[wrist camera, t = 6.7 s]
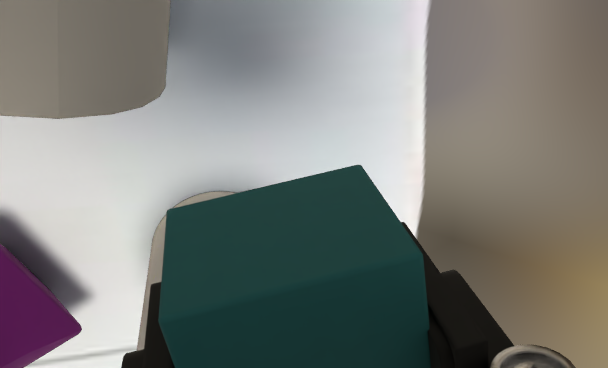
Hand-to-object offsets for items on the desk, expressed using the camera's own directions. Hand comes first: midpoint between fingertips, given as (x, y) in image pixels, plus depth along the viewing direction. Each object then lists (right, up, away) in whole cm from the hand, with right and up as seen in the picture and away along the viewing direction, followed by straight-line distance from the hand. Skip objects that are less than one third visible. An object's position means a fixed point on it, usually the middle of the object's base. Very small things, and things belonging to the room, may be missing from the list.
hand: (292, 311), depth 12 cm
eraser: (0, 0, 0) cm, 0 cm away
